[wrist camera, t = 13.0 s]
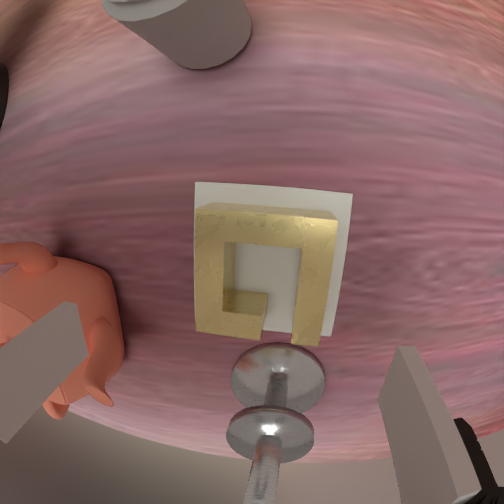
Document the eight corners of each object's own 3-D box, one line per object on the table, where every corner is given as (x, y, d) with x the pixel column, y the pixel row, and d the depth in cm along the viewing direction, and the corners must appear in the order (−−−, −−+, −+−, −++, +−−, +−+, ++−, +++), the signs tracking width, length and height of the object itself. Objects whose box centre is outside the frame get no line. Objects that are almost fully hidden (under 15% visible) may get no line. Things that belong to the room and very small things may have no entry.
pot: (69, 193, 25) (-31, 215, 13) (175, 327, 27) (108, 414, 15) (18, 289, 30) (-46, 325, 19) (95, 387, 32) (44, 445, 20)
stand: (234, 336, 26) (177, 473, 12) (332, 347, 25) (347, 493, 11) (232, 404, 28) (193, 522, 14) (315, 413, 27) (312, 537, 13)
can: (263, 6, 18) (235, -87, 6) (239, 78, 20) (184, 4, 9) (183, 1, 18) (119, -70, 7) (157, 68, 21) (67, 18, 9)
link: (212, 202, 22) (195, 208, 19) (331, 211, 21) (338, 220, 17) (210, 307, 25) (195, 331, 21) (316, 320, 24) (318, 346, 20)
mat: (197, 181, 23) (195, 181, 22) (351, 193, 21) (352, 194, 21) (197, 317, 26) (194, 320, 25) (330, 332, 24) (330, 336, 24)
